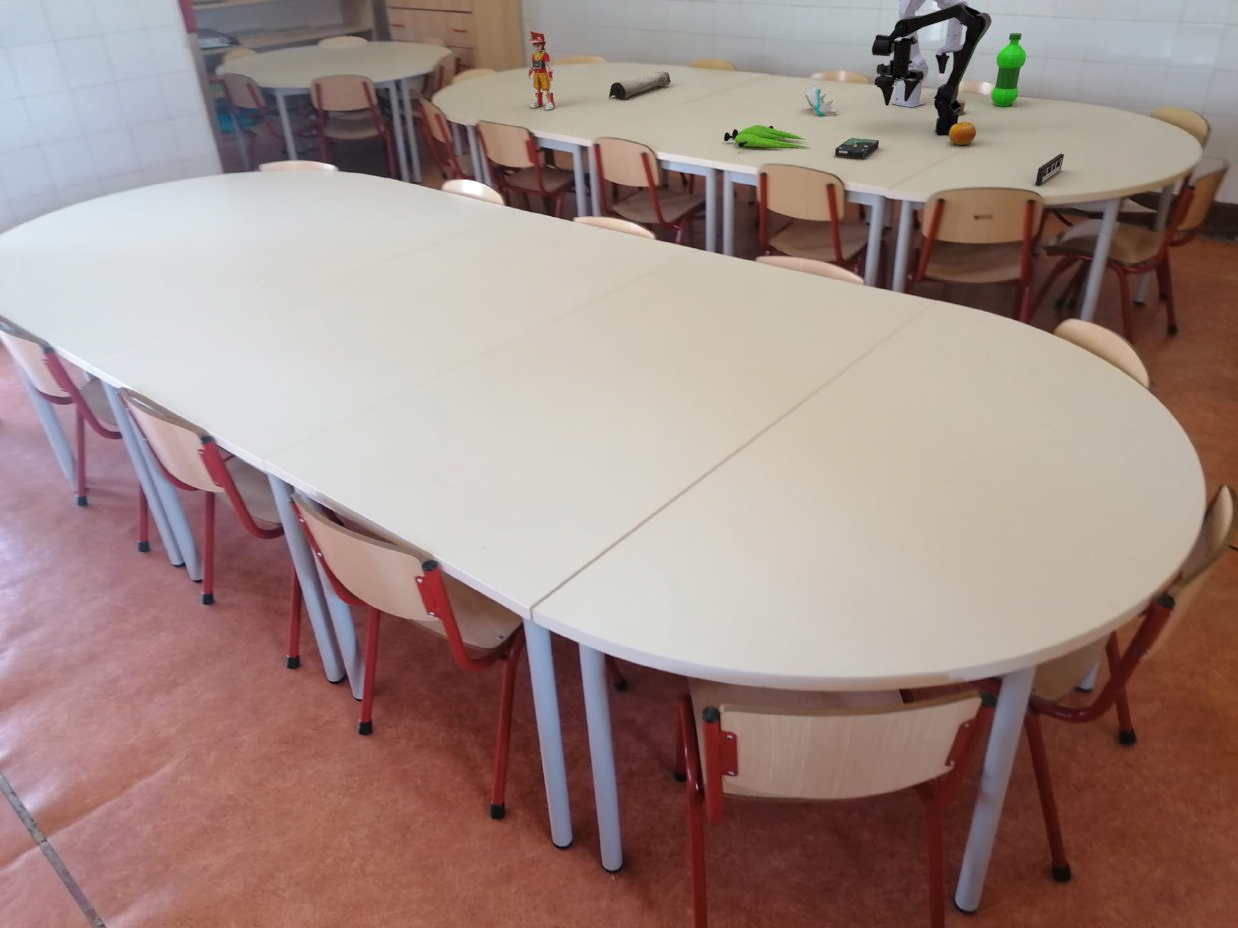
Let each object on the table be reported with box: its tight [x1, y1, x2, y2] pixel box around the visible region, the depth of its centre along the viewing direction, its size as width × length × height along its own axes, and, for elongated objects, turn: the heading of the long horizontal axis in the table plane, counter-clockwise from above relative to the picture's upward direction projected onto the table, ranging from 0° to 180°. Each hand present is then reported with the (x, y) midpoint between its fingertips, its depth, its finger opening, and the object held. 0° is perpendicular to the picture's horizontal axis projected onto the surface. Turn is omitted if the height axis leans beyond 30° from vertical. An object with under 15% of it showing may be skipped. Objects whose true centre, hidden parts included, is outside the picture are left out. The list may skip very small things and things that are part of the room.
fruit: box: [948, 121, 977, 146], centre depth 306 cm, size 8×8×8 cm
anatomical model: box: [804, 85, 838, 116], centre depth 351 cm, size 15×10×10 cm
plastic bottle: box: [991, 32, 1027, 107], centre depth 341 cm, size 10×10×25 cm
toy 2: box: [723, 124, 807, 148], centre depth 319 cm, size 28×5×30 cm
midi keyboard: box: [1035, 153, 1065, 186], centre depth 273 cm, size 18×1×5 cm, turn 138°
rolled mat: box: [608, 71, 672, 101], centre depth 395 cm, size 30×9×10 cm
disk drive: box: [834, 137, 880, 159], centre depth 305 cm, size 10×3×15 cm
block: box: [957, 99, 966, 116], centre depth 340 cm, size 5×5×4 cm
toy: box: [527, 31, 556, 111], centre depth 374 cm, size 12×9×30 cm
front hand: (896, 103), depth 326 cm, fingers open, 9 cm apart
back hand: (948, 72), depth 357 cm, fingers open, 7 cm apart
